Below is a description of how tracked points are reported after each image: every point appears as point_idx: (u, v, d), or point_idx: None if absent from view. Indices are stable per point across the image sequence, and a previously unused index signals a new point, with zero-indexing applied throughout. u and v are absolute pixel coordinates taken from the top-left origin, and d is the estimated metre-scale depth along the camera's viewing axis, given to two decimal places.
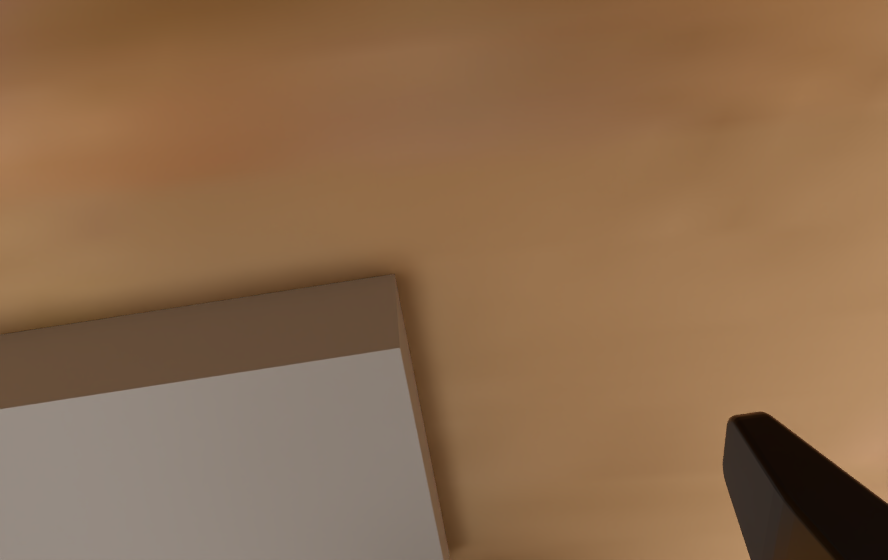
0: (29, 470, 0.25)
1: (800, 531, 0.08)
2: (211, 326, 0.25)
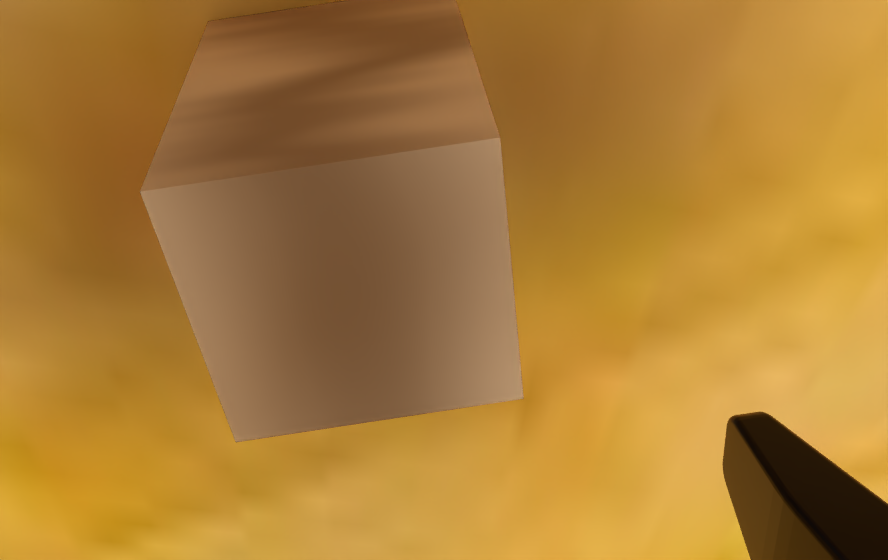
0: None
1: (800, 531, 0.08)
2: None
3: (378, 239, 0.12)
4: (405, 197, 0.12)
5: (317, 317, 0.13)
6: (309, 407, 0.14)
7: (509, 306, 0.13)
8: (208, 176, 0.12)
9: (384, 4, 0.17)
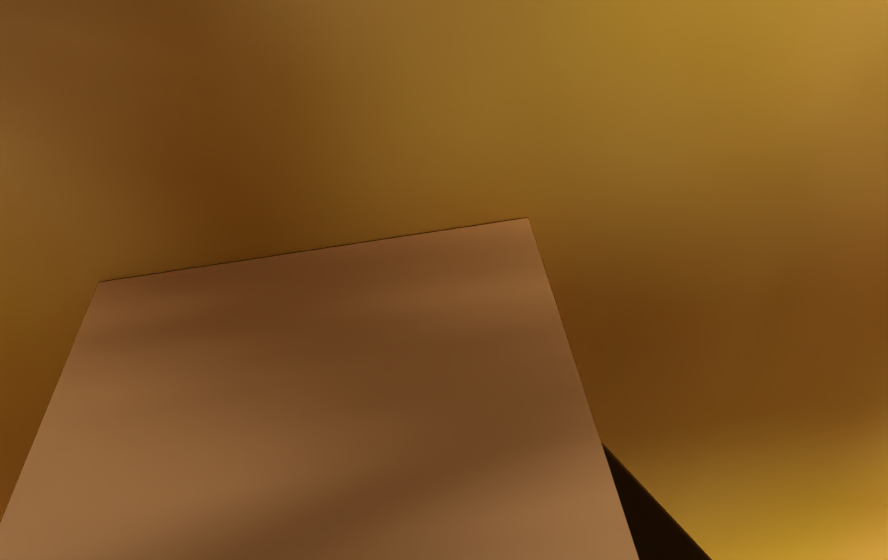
0: None
1: None
2: None
3: None
4: None
5: None
6: None
7: None
8: None
9: (411, 267, 0.09)
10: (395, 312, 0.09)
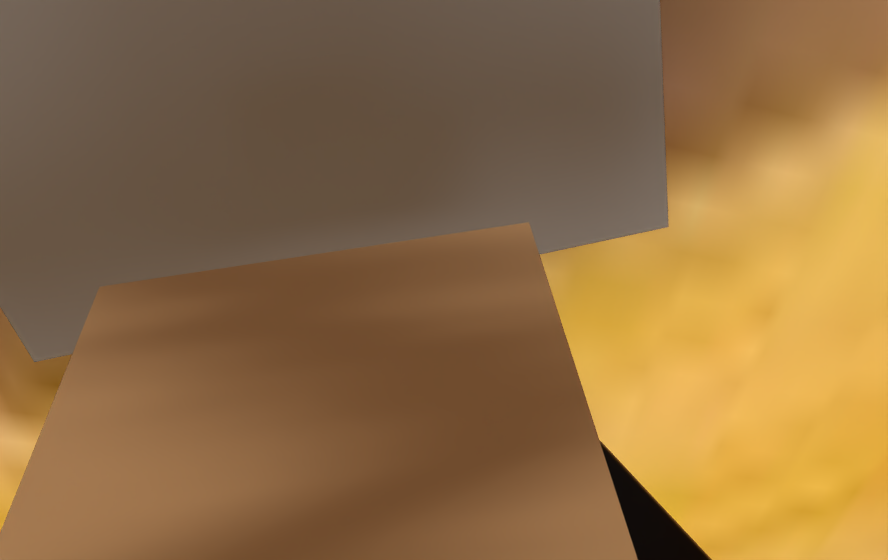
0: None
1: None
2: None
3: None
4: None
5: None
6: None
7: None
8: None
9: (411, 271, 0.09)
10: (396, 317, 0.09)
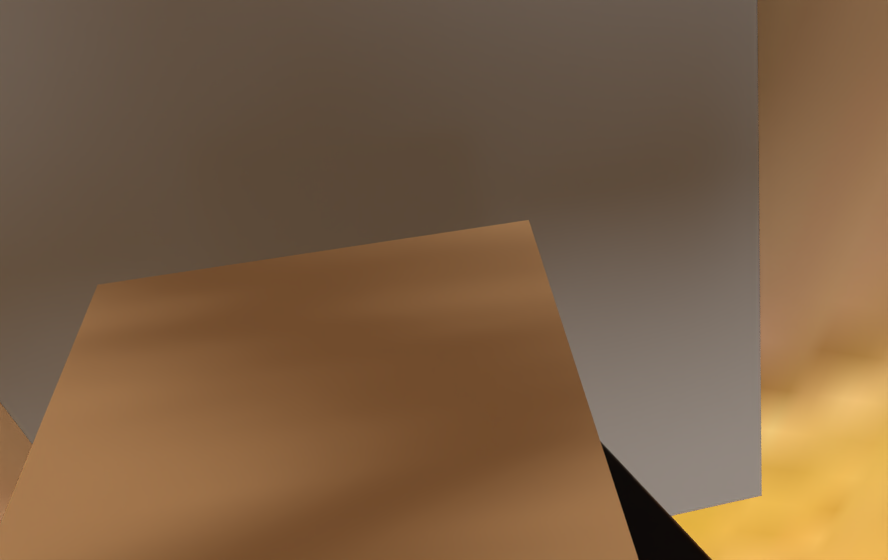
0: None
1: None
2: None
3: None
4: None
5: None
6: None
7: None
8: None
9: (410, 268, 0.09)
10: (395, 315, 0.09)
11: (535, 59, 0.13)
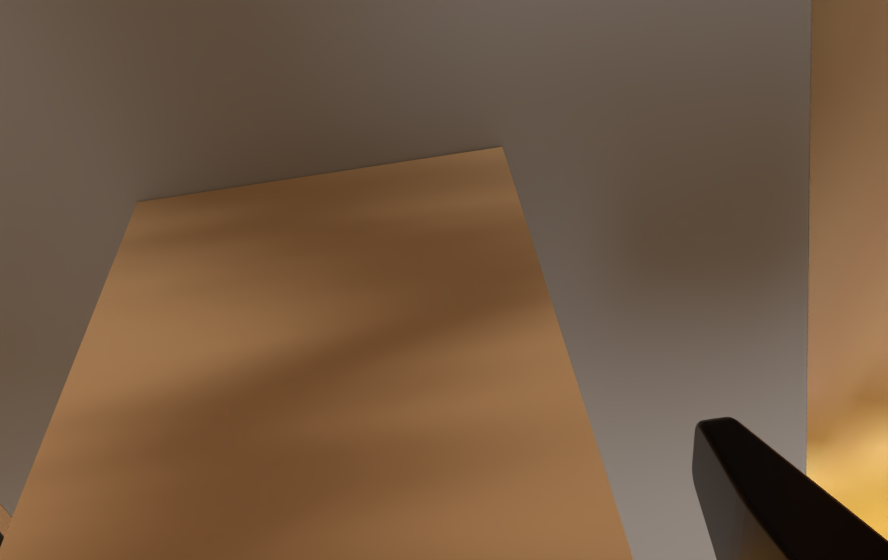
0: None
1: (761, 537, 0.08)
2: None
3: None
4: None
5: None
6: None
7: None
8: None
9: (403, 185, 0.11)
10: (388, 218, 0.10)
11: (559, 100, 0.11)
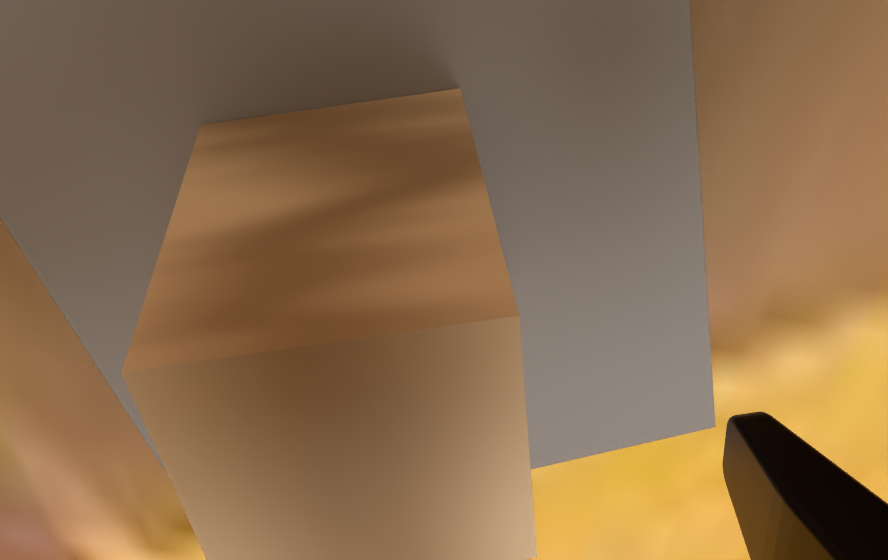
0: None
1: (800, 531, 0.08)
2: None
3: (383, 412, 0.11)
4: (413, 374, 0.11)
5: (315, 487, 0.12)
6: None
7: (524, 473, 0.12)
8: (197, 353, 0.11)
9: (389, 112, 0.16)
10: (379, 132, 0.15)
11: (514, 54, 0.16)
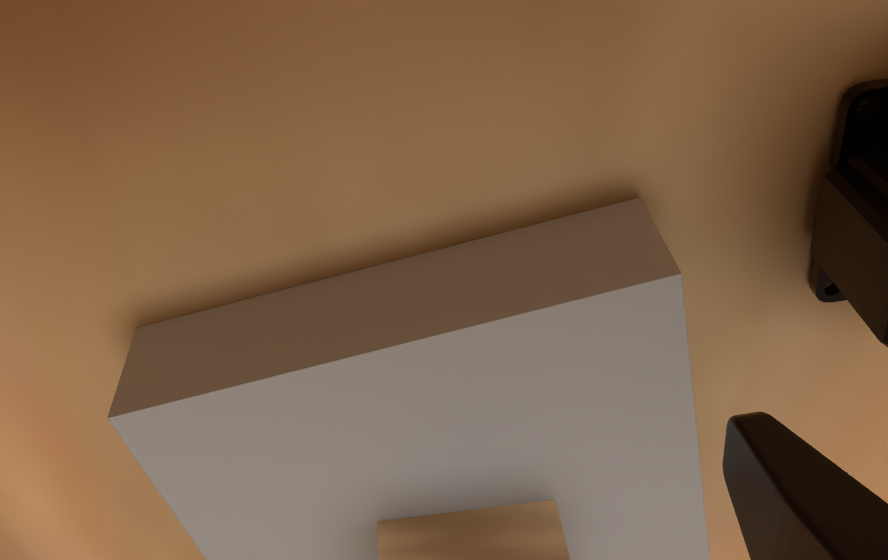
0: None
1: (800, 530, 0.08)
2: None
3: None
4: None
5: None
6: None
7: None
8: None
9: (509, 523, 0.23)
10: (505, 548, 0.23)
11: (580, 486, 0.23)
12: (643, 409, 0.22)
